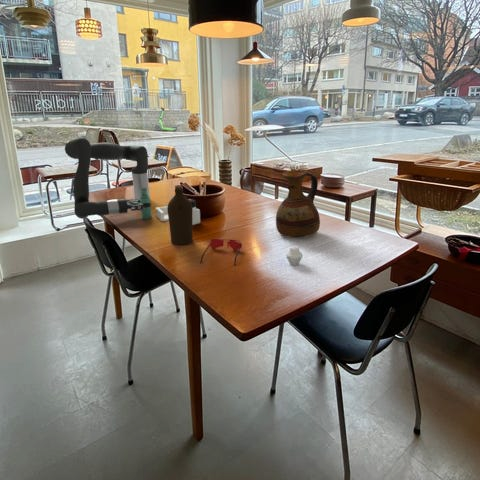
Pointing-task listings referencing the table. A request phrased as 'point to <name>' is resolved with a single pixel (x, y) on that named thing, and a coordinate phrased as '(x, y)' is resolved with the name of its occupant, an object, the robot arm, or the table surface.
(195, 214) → the medicine bottle
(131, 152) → the robot arm
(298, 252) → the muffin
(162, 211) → the cream U-rest
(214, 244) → the glasses
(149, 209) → the green bottle
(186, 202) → the olive oil
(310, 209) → the ceramic pitcher
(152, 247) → the table surface
